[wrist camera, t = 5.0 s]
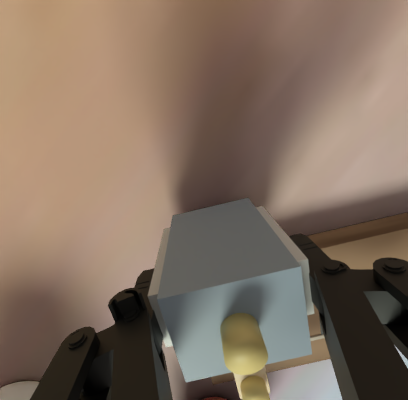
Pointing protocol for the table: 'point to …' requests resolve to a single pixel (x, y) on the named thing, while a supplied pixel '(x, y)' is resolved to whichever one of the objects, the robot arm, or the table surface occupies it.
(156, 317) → the robot arm
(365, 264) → the board
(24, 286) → the table surface
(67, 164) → the table surface
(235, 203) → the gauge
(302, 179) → the table surface
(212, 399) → the fruit
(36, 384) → the mug
